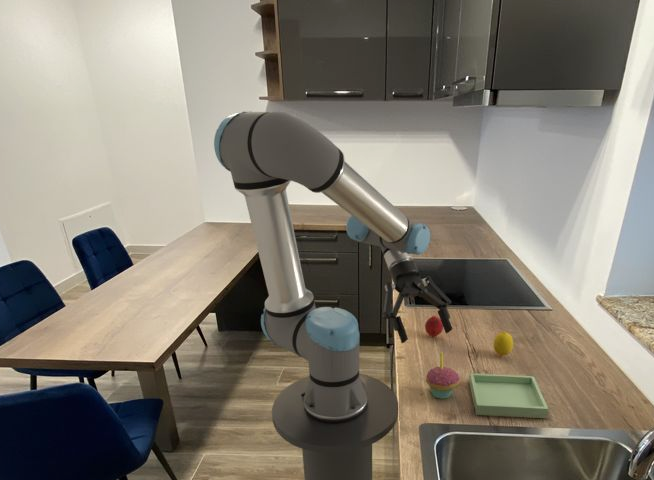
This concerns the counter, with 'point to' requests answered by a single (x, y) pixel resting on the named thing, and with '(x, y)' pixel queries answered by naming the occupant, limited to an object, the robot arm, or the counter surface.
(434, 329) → the red textured round piece
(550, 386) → the counter surface
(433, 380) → the cupcake
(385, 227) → the robot arm
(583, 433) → the counter surface
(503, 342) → the lemon
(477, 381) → the tray
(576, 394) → the counter surface
